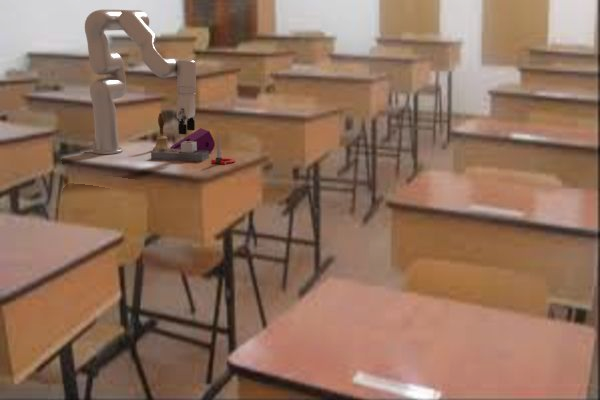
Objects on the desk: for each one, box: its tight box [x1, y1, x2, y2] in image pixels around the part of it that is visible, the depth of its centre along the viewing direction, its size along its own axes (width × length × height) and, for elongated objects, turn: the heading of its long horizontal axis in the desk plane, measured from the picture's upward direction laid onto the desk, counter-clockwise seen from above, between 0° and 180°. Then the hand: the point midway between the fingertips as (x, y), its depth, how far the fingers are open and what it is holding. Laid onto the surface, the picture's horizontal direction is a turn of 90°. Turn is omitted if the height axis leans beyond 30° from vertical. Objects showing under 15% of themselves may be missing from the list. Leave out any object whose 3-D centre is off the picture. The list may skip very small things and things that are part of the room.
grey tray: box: [150, 148, 210, 163], centre depth 311 cm, size 22×9×3 cm, turn 78°
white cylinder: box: [181, 141, 197, 154], centre depth 310 cm, size 5×5×7 cm
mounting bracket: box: [170, 128, 216, 153], centre depth 325 cm, size 9×8×18 cm
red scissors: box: [210, 131, 236, 166], centre depth 304 cm, size 8×13×9 cm
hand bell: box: [152, 112, 171, 151], centre depth 330 cm, size 8×8×16 cm
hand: (186, 132), depth 308 cm, fingers open, 9 cm apart
